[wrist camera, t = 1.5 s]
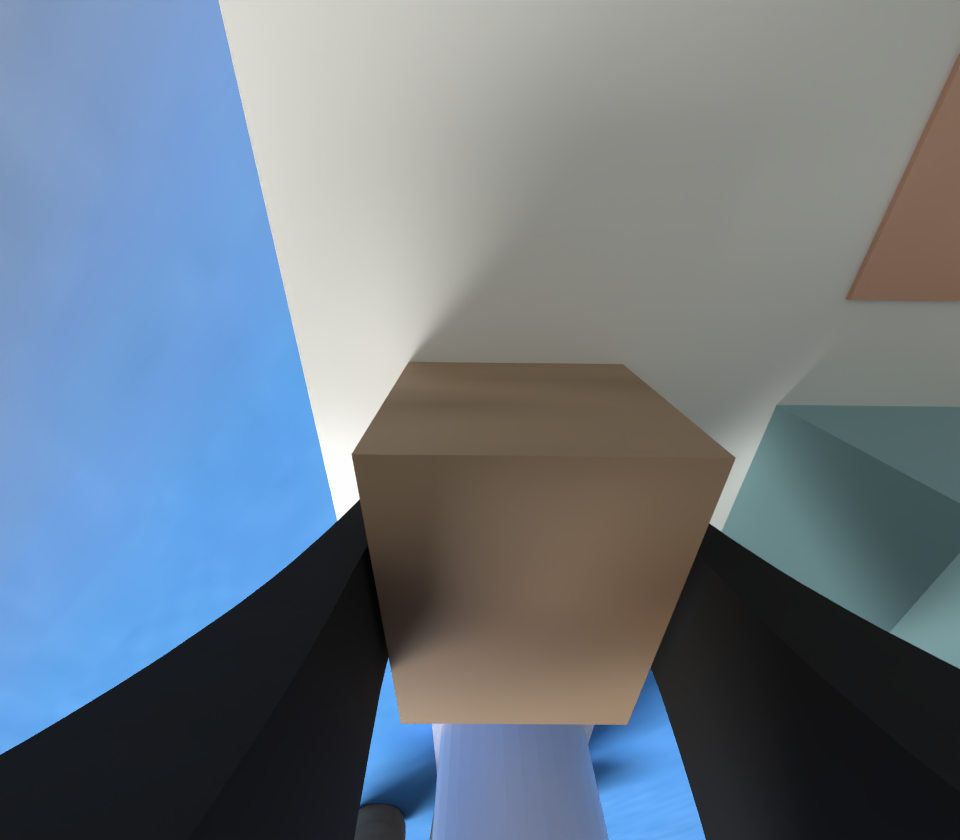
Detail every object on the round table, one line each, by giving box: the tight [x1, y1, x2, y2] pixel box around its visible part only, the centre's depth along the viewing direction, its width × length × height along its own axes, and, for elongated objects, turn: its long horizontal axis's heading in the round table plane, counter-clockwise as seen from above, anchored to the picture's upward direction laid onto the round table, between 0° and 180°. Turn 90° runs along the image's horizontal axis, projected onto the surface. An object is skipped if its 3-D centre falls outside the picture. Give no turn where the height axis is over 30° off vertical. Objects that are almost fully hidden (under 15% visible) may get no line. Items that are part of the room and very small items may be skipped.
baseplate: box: [219, 0, 960, 531], centre depth 9 cm, size 21×22×1 cm
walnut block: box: [351, 362, 736, 725], centre depth 8 cm, size 7×5×4 cm
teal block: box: [721, 405, 960, 669], centre depth 8 cm, size 7×5×4 cm
